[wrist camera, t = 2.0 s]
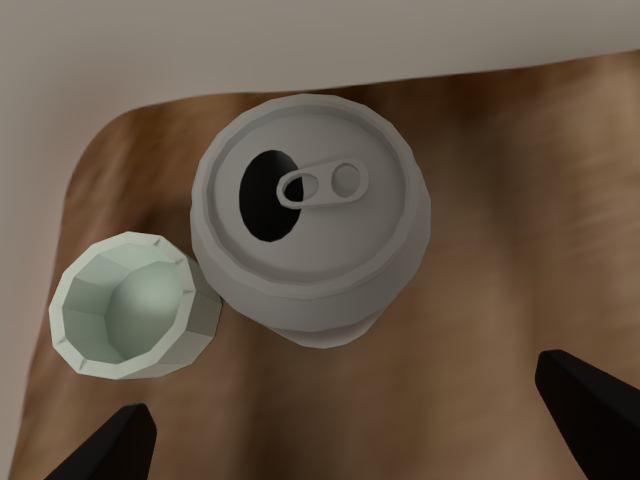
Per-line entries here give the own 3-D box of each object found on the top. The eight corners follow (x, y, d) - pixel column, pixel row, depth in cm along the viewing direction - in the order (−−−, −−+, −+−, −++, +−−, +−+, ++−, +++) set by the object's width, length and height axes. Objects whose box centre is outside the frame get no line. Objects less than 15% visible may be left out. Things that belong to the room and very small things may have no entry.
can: (260, 226, 22) (178, 78, 11) (380, 220, 22) (427, 61, 10) (257, 352, 19) (144, 331, 8) (393, 346, 19) (475, 318, 8)
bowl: (203, 384, 19) (169, 388, 15) (86, 365, 19) (26, 364, 16) (231, 264, 21) (209, 241, 17) (126, 250, 22) (82, 225, 18)
